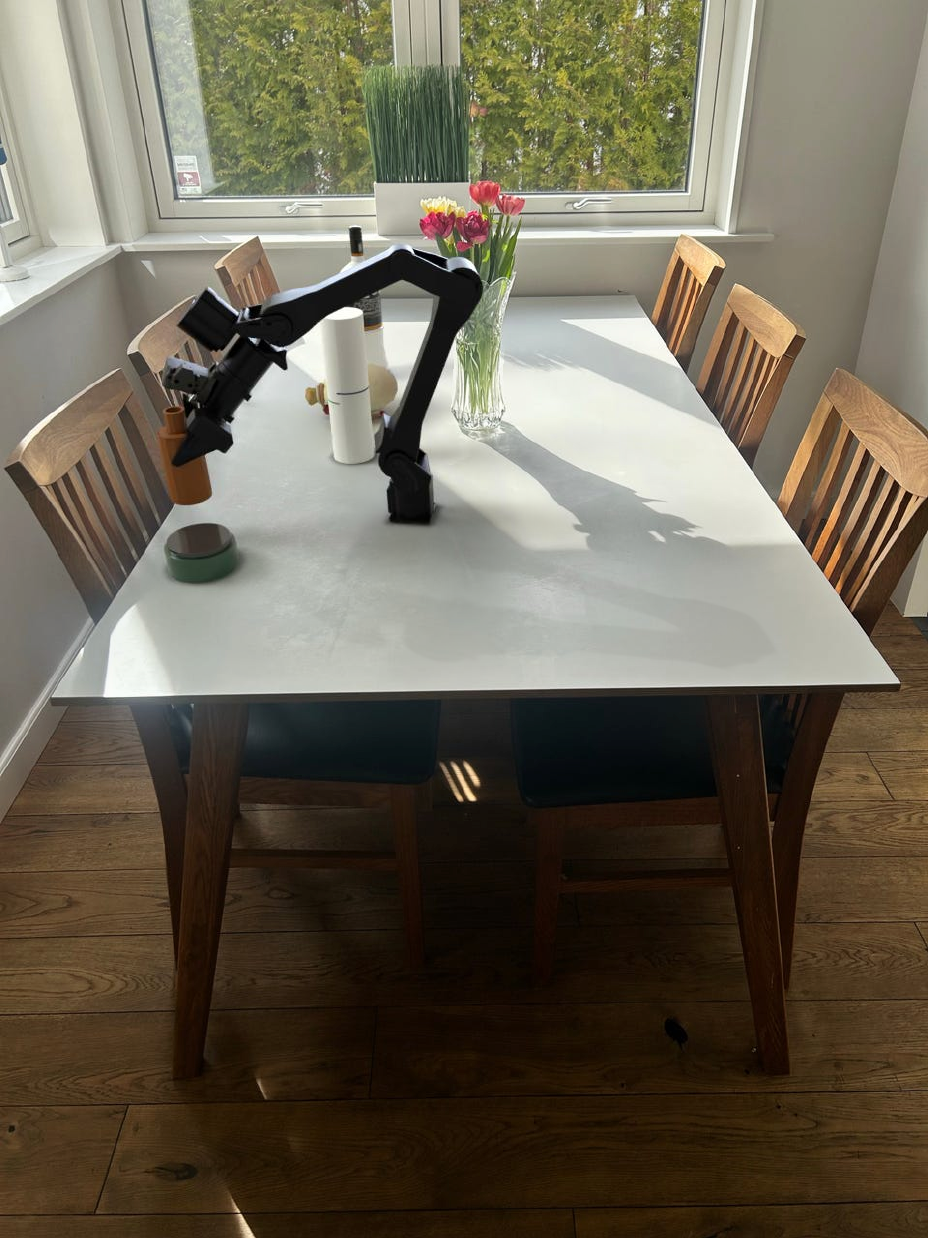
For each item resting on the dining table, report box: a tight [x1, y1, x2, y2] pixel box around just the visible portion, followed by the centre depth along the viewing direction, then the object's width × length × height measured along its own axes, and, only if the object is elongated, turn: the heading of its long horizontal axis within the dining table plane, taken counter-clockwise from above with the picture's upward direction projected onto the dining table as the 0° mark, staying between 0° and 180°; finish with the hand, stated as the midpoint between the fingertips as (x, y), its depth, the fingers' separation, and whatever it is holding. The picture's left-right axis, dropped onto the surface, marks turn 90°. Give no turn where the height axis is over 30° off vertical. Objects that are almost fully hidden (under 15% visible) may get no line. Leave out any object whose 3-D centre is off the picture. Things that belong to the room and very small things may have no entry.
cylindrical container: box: [319, 307, 375, 465], centre depth 161 cm, size 7×7×25 cm
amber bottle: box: [155, 405, 213, 506], centre depth 137 cm, size 6×6×14 cm
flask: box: [304, 364, 399, 419], centre depth 182 cm, size 9×16×18 cm
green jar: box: [163, 522, 240, 584], centre depth 136 cm, size 10×10×4 cm
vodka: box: [339, 225, 389, 370], centre depth 195 cm, size 9×9×30 cm
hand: (173, 456), depth 137 cm, fingers closed on amber bottle, 6 cm apart
